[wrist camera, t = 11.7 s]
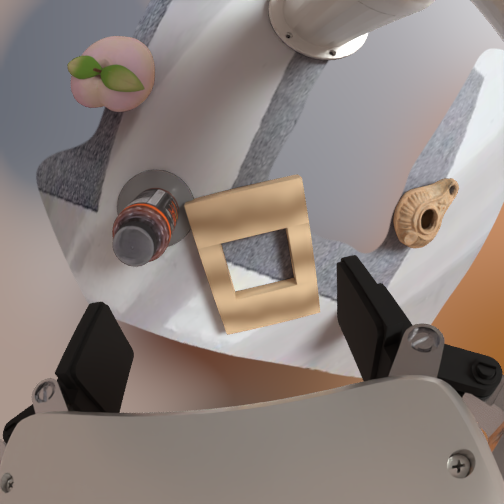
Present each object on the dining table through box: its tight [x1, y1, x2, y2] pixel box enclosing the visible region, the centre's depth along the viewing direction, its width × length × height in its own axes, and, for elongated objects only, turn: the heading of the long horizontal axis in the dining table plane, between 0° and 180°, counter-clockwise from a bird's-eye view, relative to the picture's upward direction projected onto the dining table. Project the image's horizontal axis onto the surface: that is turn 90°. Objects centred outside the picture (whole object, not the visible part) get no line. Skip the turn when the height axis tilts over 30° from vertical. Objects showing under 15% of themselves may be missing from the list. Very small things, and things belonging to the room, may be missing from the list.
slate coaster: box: [117, 170, 194, 246], centre depth 35 cm, size 10×10×1 cm
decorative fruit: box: [68, 36, 155, 112], centre depth 24 cm, size 9×8×10 cm
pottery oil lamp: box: [393, 178, 459, 248], centre depth 36 cm, size 9×12×7 cm
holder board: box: [184, 175, 320, 335], centre depth 39 cm, size 20×14×2 cm
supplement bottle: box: [112, 188, 179, 266], centre depth 30 cm, size 6×6×11 cm
